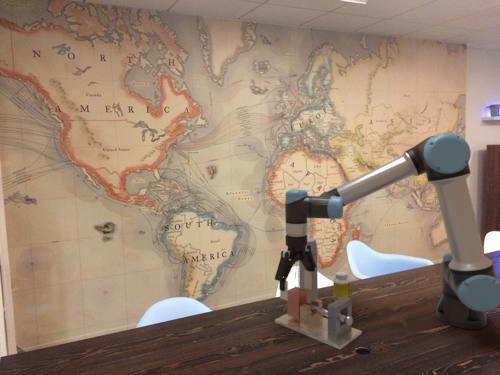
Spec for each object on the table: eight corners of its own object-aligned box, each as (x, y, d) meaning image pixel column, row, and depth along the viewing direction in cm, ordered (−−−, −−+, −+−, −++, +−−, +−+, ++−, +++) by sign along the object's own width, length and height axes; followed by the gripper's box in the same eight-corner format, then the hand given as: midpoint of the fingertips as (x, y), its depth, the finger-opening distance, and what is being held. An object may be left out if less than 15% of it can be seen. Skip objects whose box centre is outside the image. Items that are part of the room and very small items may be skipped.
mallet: (356, 332, 111) (356, 305, 110) (348, 338, 107) (348, 310, 107) (296, 310, 128) (295, 286, 127) (287, 315, 124) (287, 290, 124)
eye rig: (361, 333, 114) (361, 299, 113) (340, 349, 105) (340, 312, 104) (297, 310, 133) (297, 280, 132) (274, 322, 124) (274, 290, 123)
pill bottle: (351, 303, 138) (351, 275, 137) (335, 303, 138) (335, 276, 137) (347, 297, 144) (347, 270, 143) (332, 297, 144) (331, 271, 144)
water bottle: (317, 297, 145) (316, 237, 143) (318, 305, 137) (318, 242, 135) (294, 297, 146) (293, 237, 144) (295, 304, 138) (294, 242, 136)
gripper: (308, 227, 133) (308, 282, 135) (263, 238, 116) (264, 301, 118) (325, 230, 128) (325, 286, 130) (281, 242, 111) (281, 307, 112)
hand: (296, 293), depth 124 cm, fingers open, 13 cm apart
